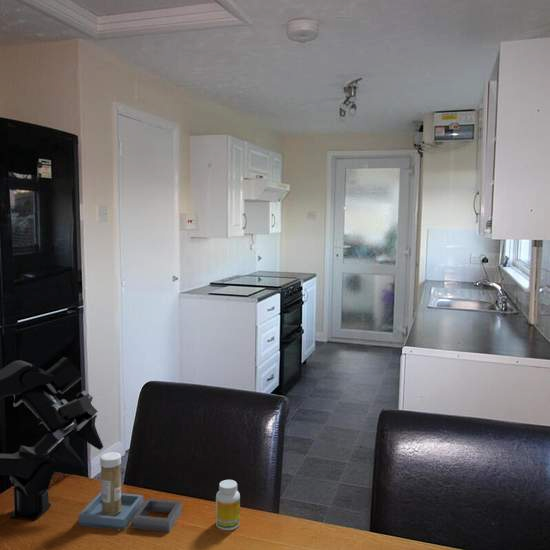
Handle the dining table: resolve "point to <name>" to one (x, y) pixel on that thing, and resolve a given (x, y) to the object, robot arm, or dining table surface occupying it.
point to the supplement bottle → (227, 505)
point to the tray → (120, 521)
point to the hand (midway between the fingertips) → (92, 456)
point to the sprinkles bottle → (111, 483)
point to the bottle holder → (153, 522)
